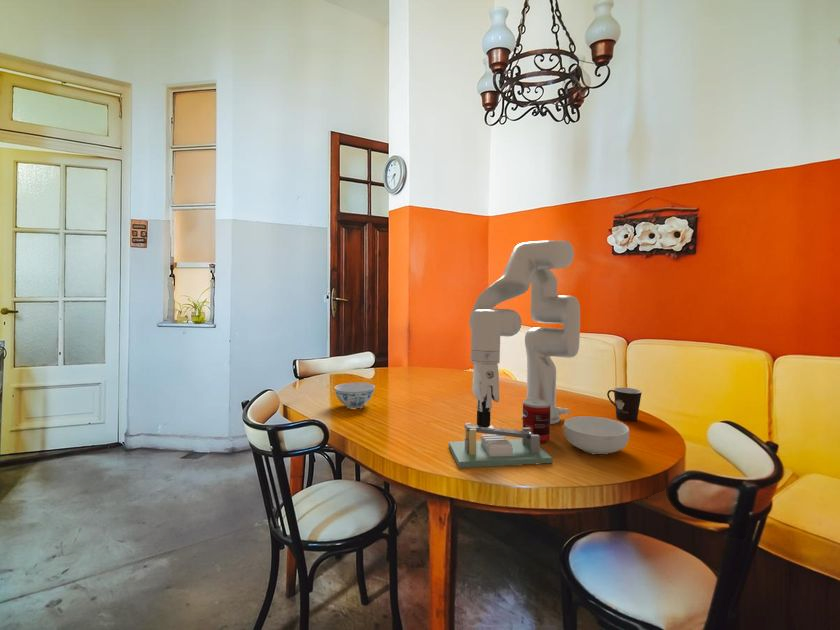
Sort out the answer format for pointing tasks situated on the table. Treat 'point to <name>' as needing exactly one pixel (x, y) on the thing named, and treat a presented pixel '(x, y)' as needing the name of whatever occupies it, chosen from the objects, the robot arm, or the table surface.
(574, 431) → the cereal bowl
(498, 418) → the table surface
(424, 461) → the table surface
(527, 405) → the canned food
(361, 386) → the chinaware
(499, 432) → the grey hinged clamp lever
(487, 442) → the clamp board
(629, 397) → the coffee mug
